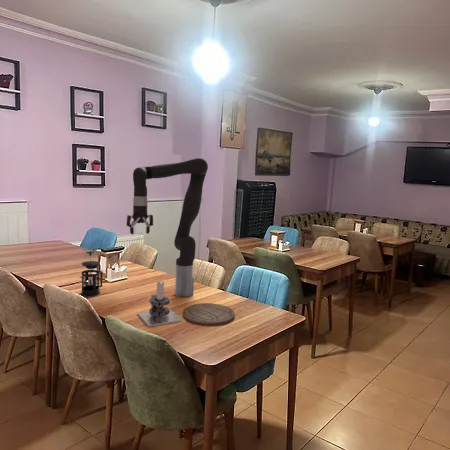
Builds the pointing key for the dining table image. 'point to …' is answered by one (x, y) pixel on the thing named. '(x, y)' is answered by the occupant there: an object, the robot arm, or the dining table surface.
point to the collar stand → (159, 313)
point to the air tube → (160, 295)
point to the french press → (90, 285)
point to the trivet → (208, 314)
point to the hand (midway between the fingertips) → (139, 233)
